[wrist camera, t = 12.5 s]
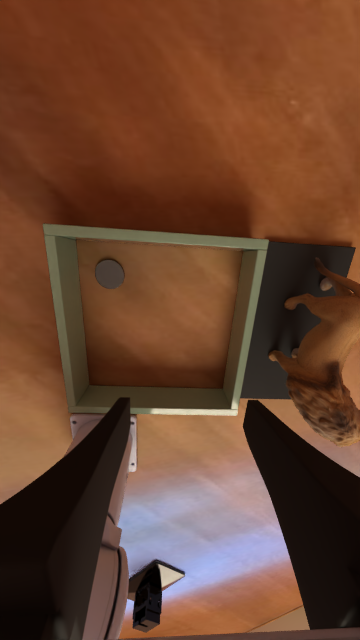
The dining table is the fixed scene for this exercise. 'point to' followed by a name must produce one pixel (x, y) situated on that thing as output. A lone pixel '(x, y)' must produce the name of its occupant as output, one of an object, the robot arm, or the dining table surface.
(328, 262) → the mat
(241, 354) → the green square tray
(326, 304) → the lion figurine
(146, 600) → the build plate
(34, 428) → the dining table surface
